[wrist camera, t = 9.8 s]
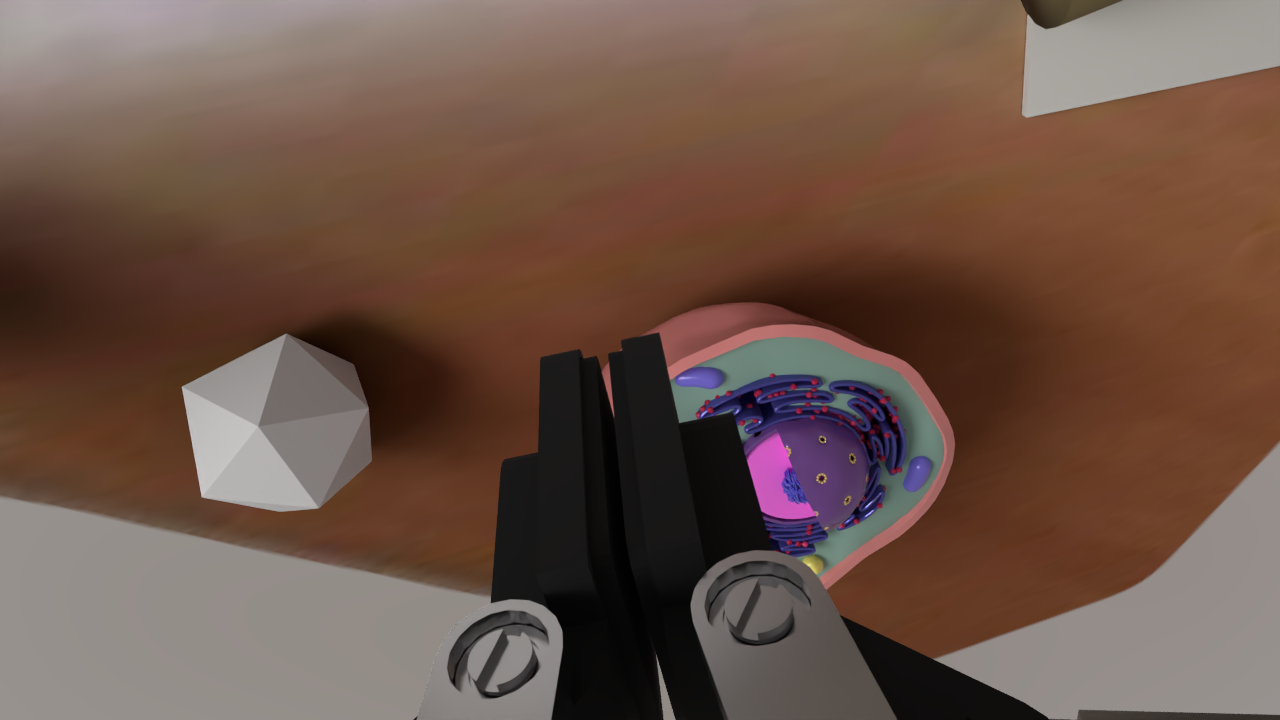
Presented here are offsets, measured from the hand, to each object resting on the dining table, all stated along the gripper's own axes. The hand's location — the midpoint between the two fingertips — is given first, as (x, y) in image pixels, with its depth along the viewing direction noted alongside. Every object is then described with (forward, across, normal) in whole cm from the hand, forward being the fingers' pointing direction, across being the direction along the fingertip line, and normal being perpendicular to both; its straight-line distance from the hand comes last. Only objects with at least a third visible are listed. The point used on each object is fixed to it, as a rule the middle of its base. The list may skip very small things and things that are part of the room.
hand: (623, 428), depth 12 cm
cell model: (+29, -3, +21) cm, 36 cm away
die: (+29, +18, +15) cm, 38 cm away
